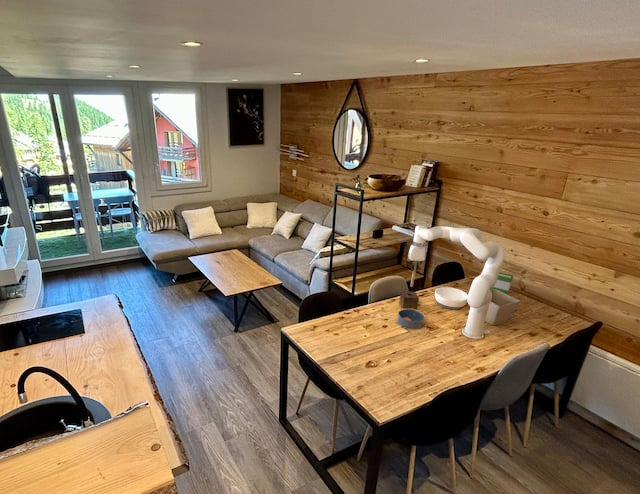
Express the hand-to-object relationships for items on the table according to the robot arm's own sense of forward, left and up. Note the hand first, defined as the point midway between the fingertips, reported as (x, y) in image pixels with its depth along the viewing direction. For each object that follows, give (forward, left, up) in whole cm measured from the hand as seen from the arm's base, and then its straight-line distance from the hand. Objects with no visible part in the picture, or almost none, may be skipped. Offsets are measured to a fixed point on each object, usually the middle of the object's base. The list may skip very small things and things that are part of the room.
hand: (414, 269), depth 264 cm
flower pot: (-52, +12, -29) cm, 61 cm away
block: (+7, +25, -28) cm, 39 cm away
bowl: (-31, -8, -29) cm, 44 cm away
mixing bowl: (+4, +22, -29) cm, 37 cm away
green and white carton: (-61, -11, -29) cm, 69 cm away
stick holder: (0, -2, -29) cm, 29 cm away
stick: (0, 0, -13) cm, 13 cm away
